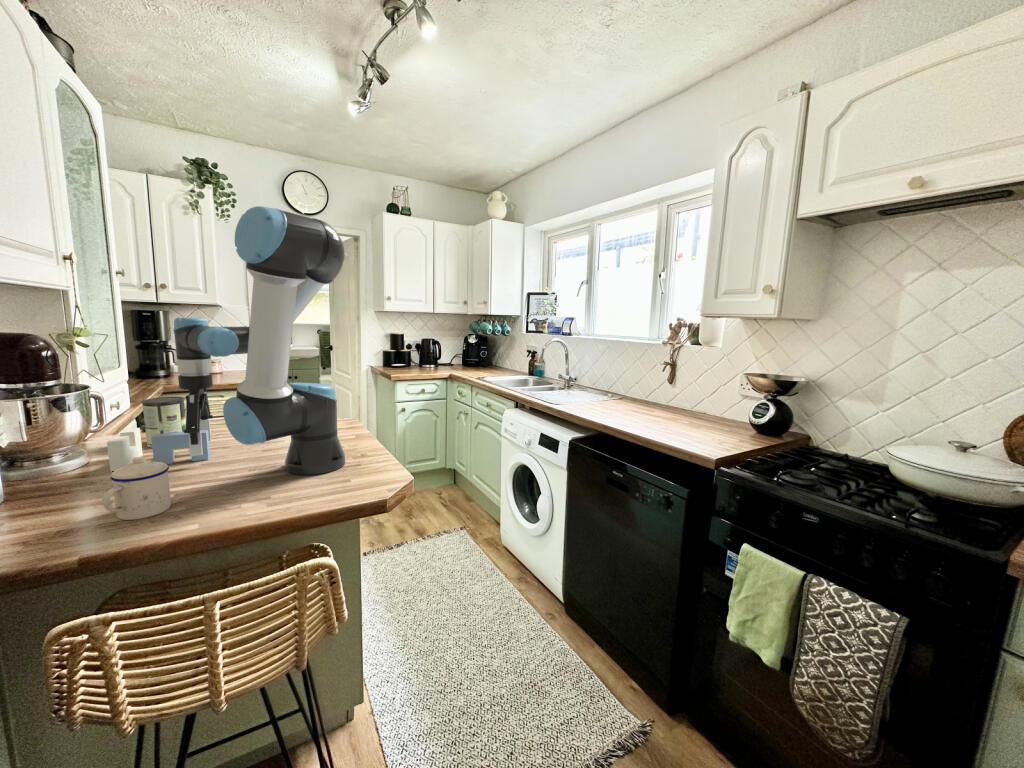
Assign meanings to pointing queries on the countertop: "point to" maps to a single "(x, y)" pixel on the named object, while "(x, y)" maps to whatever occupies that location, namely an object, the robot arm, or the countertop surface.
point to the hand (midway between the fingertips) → (201, 448)
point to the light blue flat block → (176, 446)
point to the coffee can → (163, 416)
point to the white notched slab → (124, 448)
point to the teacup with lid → (139, 490)
